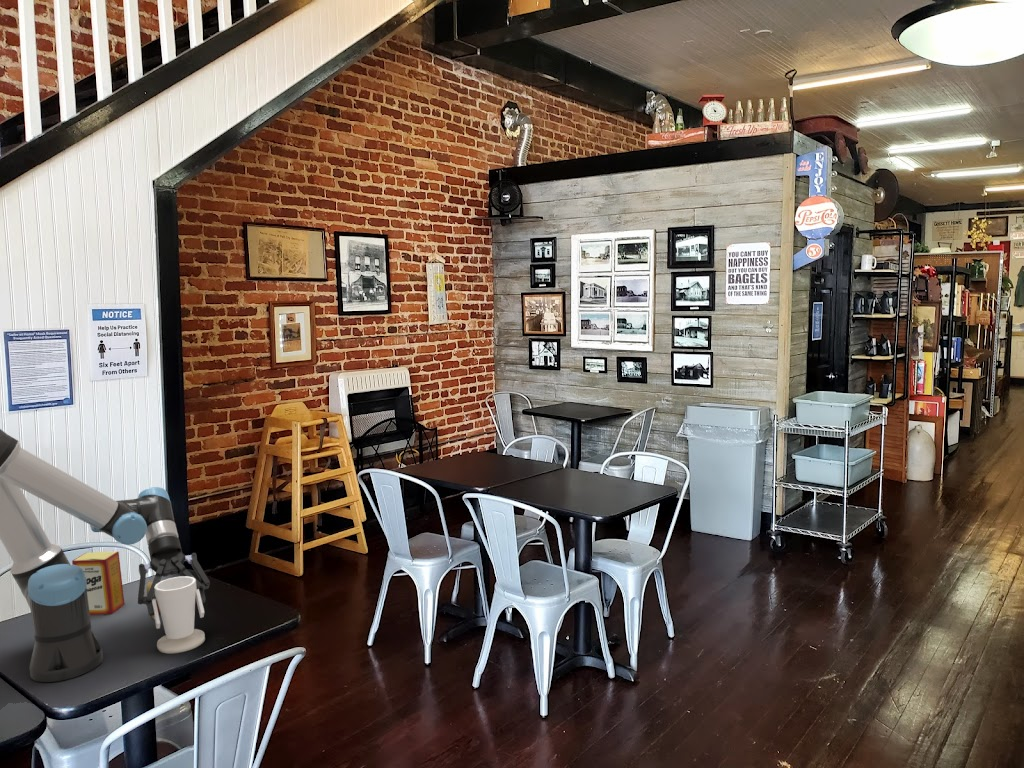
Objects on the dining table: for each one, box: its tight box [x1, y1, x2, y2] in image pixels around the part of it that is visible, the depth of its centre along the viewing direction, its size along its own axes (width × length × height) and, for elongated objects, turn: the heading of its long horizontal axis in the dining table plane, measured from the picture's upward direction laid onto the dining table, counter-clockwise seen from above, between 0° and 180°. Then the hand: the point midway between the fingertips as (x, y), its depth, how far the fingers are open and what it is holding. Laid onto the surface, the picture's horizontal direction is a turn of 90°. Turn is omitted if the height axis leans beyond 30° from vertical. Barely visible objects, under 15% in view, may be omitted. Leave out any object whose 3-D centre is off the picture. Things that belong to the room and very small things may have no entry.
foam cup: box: [154, 576, 197, 639], centre depth 194 cm, size 10×9×13 cm
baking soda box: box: [71, 551, 126, 616], centre depth 218 cm, size 10×6×16 cm
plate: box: [156, 628, 206, 654], centre depth 195 cm, size 11×11×1 cm
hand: (180, 620), depth 192 cm, fingers closed on foam cup, 9 cm apart
